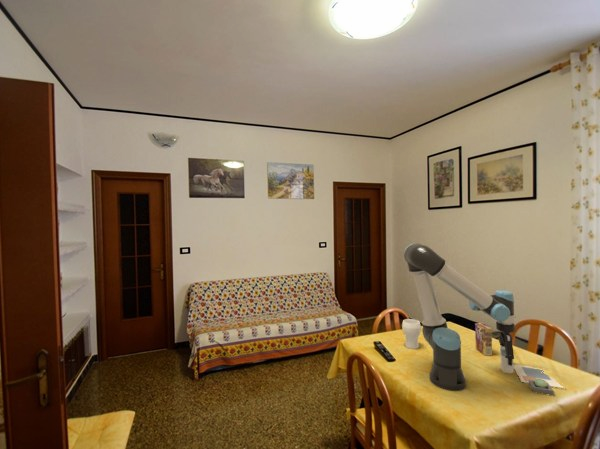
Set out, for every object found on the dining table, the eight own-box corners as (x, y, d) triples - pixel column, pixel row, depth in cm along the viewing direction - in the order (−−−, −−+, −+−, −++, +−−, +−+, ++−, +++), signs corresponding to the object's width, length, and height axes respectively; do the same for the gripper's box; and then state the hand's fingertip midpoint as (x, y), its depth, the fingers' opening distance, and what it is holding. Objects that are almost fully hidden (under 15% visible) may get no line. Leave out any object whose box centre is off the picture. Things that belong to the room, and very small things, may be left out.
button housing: (533, 392, 127) (533, 387, 127) (528, 384, 134) (528, 379, 134) (553, 395, 124) (553, 391, 124) (547, 387, 131) (547, 382, 131)
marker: (502, 372, 145) (501, 351, 145) (500, 368, 148) (500, 348, 148) (512, 373, 143) (511, 353, 143) (510, 369, 147) (509, 349, 147)
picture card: (521, 382, 135) (521, 380, 135) (512, 365, 151) (512, 363, 151) (566, 389, 128) (566, 388, 128) (551, 370, 145) (551, 369, 145)
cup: (422, 344, 179) (422, 320, 179) (419, 351, 170) (418, 325, 170) (404, 341, 185) (404, 317, 185) (400, 347, 176) (400, 322, 176)
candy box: (493, 355, 162) (492, 328, 163) (485, 356, 162) (484, 328, 162) (482, 348, 171) (481, 322, 171) (475, 349, 171) (474, 323, 171)
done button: (536, 388, 128) (536, 382, 128) (533, 383, 132) (533, 377, 132) (548, 390, 126) (547, 384, 126) (544, 385, 130) (544, 379, 130)
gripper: (521, 331, 133) (522, 378, 133) (508, 315, 156) (510, 355, 156) (501, 329, 136) (503, 375, 136) (491, 314, 159) (493, 353, 159)
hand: (506, 364), depth 146 cm, fingers open, 13 cm apart
